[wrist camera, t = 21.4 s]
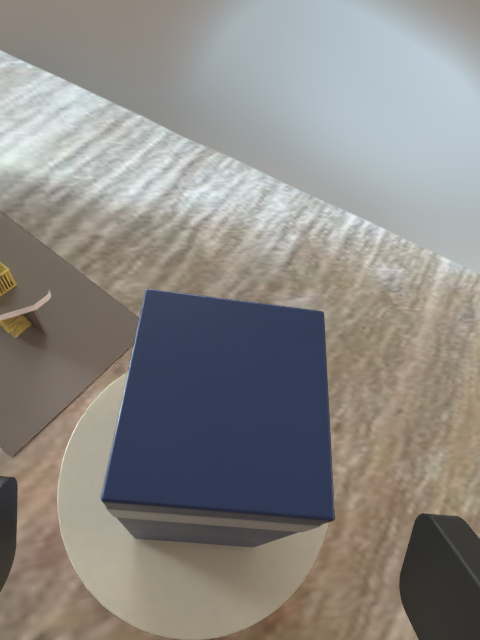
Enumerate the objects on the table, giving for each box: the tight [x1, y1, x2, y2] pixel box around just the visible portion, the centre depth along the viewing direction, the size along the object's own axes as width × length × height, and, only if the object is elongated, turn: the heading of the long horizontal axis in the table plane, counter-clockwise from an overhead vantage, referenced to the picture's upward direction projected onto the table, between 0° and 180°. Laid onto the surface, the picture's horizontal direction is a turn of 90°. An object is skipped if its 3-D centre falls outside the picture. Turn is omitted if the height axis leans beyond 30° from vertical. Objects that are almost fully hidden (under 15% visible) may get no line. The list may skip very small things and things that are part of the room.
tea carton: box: [101, 289, 335, 547], centre depth 15 cm, size 5×5×10 cm
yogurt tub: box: [57, 372, 329, 640], centre depth 22 cm, size 12×12×8 cm
